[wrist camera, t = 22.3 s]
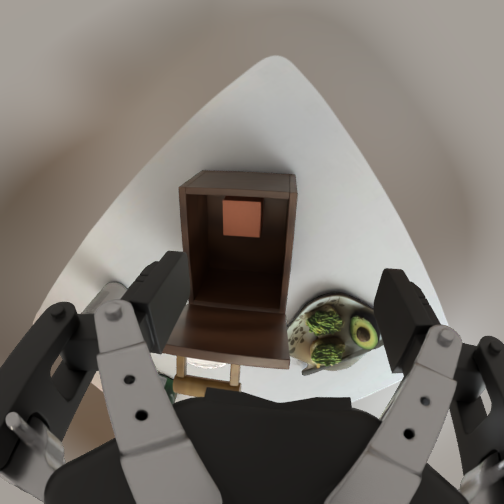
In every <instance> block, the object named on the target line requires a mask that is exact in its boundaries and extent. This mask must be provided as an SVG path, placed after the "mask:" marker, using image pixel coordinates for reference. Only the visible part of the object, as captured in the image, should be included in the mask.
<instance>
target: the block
mask: <svg viewBox="0 0 504 504" xmlns="http://www.w3.org/2000/svg"><path fill="white" fill-rule="evenodd" d="M263 210H264V198H260V197H243V196H226V197H225V198H224V199H223V235H230V236H245V237H260V235H261V230H262V226H263Z"/></svg>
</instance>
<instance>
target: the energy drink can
mask: <svg viewBox="0 0 504 504" xmlns="http://www.w3.org/2000/svg"><path fill="white" fill-rule="evenodd" d="M126 291H127V289H126V288H125V287H124V286H123V285H121V284H119V283H115V282H114V283H108V284H106V285H105V287H104V288H103V289H102V290H101V291H100V292H99V293H98V294H97V296H96V297H95V298H94V299H93V300H92V301H91V302H90V304H89V305H88V306H87V307H86V308H85V309H84V311H83V312H82V313H81V314H93V313H95V311H96V309H97V308H98V307H99V306H100V305H102V304H103V303H105V302H107V301H110V300H116V299H121V297H122V296H123V295H124V293H125V292H126Z"/></svg>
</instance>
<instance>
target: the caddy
mask: <svg viewBox="0 0 504 504" xmlns="http://www.w3.org/2000/svg"><path fill="white" fill-rule="evenodd" d="M297 194H298V193H297V185H296V177H295V175H293V174H279V173H263V172H243V171H210V170H202V171H201V172H199V173H198V174H197V175H195V176H194V177H192V178H191V179H189V180H188V181H187V182H185V183H184V184H182V185H181V186H180V187H179V202H180V218H181V231H182V243H183V252H186V254H187V257H188V267H189V277H190V295H189V298H188V301H189V304H195V305H203V306H211V307H220V308H229V309H239V310H249V311H260V312H271V313H283V314H285V312H286V304H287V295H288V287H289V278H290V269H291V259H292V250H293V239H294V229H295V218H296V206H297ZM226 196H243V197H260V198H264V210H263V226H262V230H261V235H260V237H245V236H230V235H223V199H224V198H225V197H226Z"/></svg>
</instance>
